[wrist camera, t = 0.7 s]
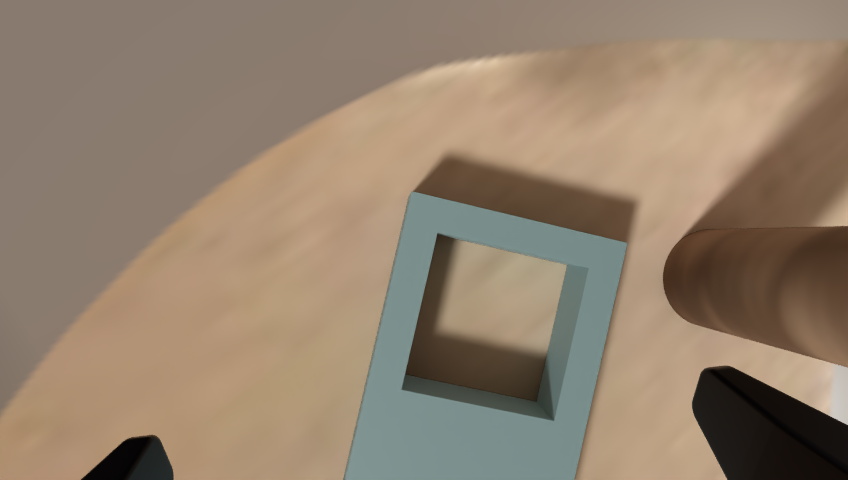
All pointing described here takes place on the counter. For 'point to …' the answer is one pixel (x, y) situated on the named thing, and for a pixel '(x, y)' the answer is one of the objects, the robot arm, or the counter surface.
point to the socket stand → (470, 408)
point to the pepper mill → (766, 286)
